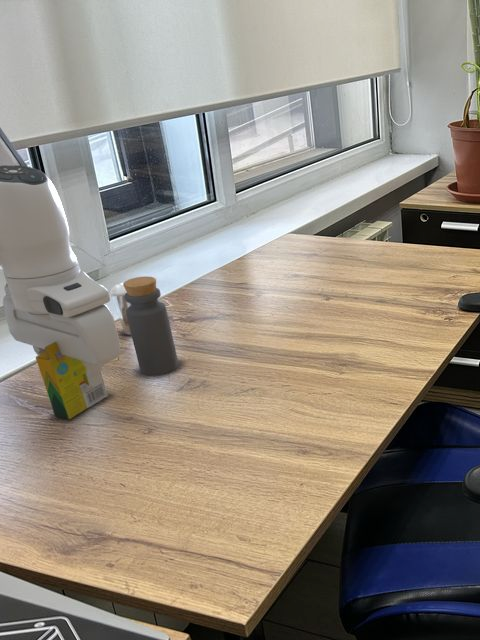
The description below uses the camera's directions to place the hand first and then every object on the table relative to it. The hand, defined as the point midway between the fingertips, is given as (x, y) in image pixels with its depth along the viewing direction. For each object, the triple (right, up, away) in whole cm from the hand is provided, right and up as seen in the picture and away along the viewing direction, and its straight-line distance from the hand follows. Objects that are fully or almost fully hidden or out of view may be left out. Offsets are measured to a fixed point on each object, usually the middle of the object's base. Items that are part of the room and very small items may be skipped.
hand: (74, 377), depth 102 cm
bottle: (+7, +1, +13) cm, 15 cm away
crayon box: (0, -4, +2) cm, 5 cm away
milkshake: (-4, +7, +26) cm, 28 cm away
